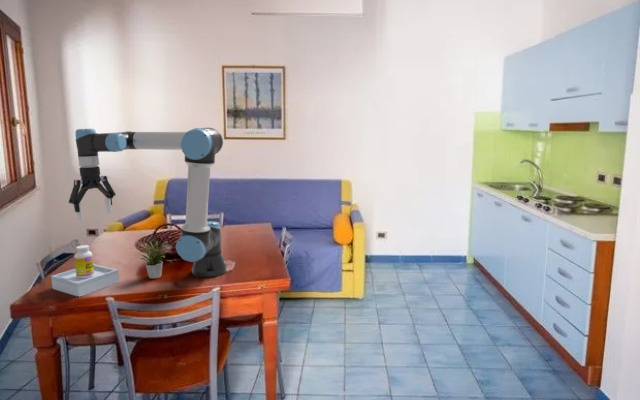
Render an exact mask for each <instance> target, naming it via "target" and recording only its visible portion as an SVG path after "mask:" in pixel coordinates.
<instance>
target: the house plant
mask: <svg viewBox="0 0 640 400" xmlns="http://www.w3.org/2000/svg"><path fill="white" fill-rule="evenodd" d="M158 242H159V241H158V240H156V241H155V245H153V243H152V242H151V241H150V240H149V244H150V245H151V246H150V245H149V244H147V243H146V242H144V245H145V247H146V249H144V250H143V249H142V248H140V247H137V246H136V248H138V249H140V250H141V251H143V252H144V253H145V254H146V255H144V254H141V258H139V260H143V261H146V262H145V267H146V271H147V274H148V278H149V279H159V278H162V274H163V273H162V271H163V263H164V262H163V261H162V260H164V259H166V255H165V254H166V253H167V252H168V250H165V251H164V252H163V250H164V249H165V248H166V247H168V246H169V245H167V244H166V243H168V242H169V241H168V240H167V241H164V242H163V243H162V244H160V246H159V243H158ZM165 244H166V245H165ZM162 257H163V258H162Z"/></svg>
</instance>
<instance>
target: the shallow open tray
mask: <svg viewBox="0 0 640 400" xmlns="http://www.w3.org/2000/svg"><path fill="white" fill-rule="evenodd" d="M93 267H94V275H93V276H92V277H89V278H84V279H80V278H77V276H76V267H75V268H72V269H68V270H65V271H63V272H60V273H56V274H52V275H50V279H51V285H52V289H53V290H54V291H58V292H62V293H65V294H68V295H72V296H74V297H78V296H79V297H78V298H80V296H81V297H82V296H85V295H88V294H91V293H94V292H96V291H99V290H102V289H104V288H107V287H110V286H113V285H115V284H118V283H120V276H119V269H117V268H111V267H108V266H104V265H99V264H95V263H93Z"/></svg>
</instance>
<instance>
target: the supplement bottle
mask: <svg viewBox="0 0 640 400" xmlns="http://www.w3.org/2000/svg"><path fill="white" fill-rule="evenodd" d="M75 249H76V253H74V254H73V255H74V256H73V257H74V266H75V268H76V276H77V278H80V279H84V278H89V277H92V276H93V275H94V267H93V264H94V258H93V252H91V251H90V245H87V244H84V245H83V244H82V245H77V246H76V247H75Z"/></svg>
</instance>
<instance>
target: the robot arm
mask: <svg viewBox="0 0 640 400" xmlns="http://www.w3.org/2000/svg"><path fill="white" fill-rule="evenodd" d="M74 133H75V144H76V150H77V159H78V166H79V176H80V179H74V180H73V188H72V190H71V194H70V196H69V199H68V204H71V205H73V208H74V212H75V213H76V218H77V220H79V221H84V213H83V205H82V204H81V202H82V200H83V198H84V197H85V194H86V193H87V191H89V190H92V189H97V190H99V192H101V193H102V194H103V195H104V197H105V198H104V203H105V212H106V214H113V212H112V211H113V209H112V205H113V198H114V197H116V193H115V191H114V189H113V187H112V186H111V184H110V182H109V180H108V176H106V175H101V168H100V166H99V165H100V159H99V153H100V152H102V153H103V152H104V153H106V152H107V153H108V152H109V153H110V152H112V153H117V152H123V151H126V150H162V151H163V150H165V151H166V150H171V151H172V150H173V151H174V150H175V151H180V150H181V152H182V153H183V155H184V162H185V164H186V165H187V168H188V169H187V188H186V206H185V209H186V210H185V223H184V224H183V225H181V230H180V231H181V232H180V237H179V239H178V240H177V241H176V245H175V249H176V252H177V254H178V256H180V257H181V259H183V260H184V261H187V262H190V263H193V264H192V267H191V274H192V275H193V276H195V277H197V278H198V277H200V278H213V277H218V276H221V275H223V274H225V273H226V272H227V270H226V269H227V264H226V262H225V259H224V257H223V253H222V252H223V251H222V235H221V233H222V232H221V230H222V229H221V225H220V222H218V221H213V220H212V221H211V220H210V221H208V212H209V196H210V195H209V194H210V181H211V180H210V178H211V168H212V167H213V165H215V162H216V154H218V153H219V152H220V151H221V150H222V148H223V146H224V145H223V144H224V141H223V140H224V139H223V136H222V134H221V133H220V132H219V130H217V129H215V128H213V127H196V128H192V129H189V130H188V131H121V132H119V131H118V132H105V133H104V132H103V133H101V132H100V133H97V132H96V129H95V128H78V129H76V130H75V131H74ZM100 175H101V176H100ZM225 271H226V272H225ZM224 272H225V273H224Z"/></svg>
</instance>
